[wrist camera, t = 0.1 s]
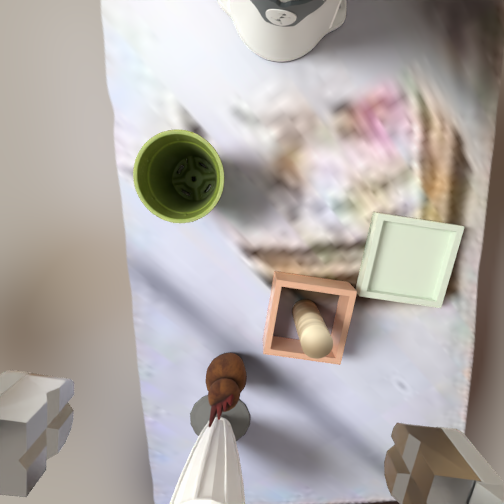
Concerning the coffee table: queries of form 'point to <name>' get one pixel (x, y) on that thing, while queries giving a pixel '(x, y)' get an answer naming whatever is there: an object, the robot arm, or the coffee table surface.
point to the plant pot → (178, 176)
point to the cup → (214, 458)
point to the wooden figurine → (224, 383)
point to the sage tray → (408, 259)
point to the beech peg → (311, 329)
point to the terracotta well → (340, 325)
